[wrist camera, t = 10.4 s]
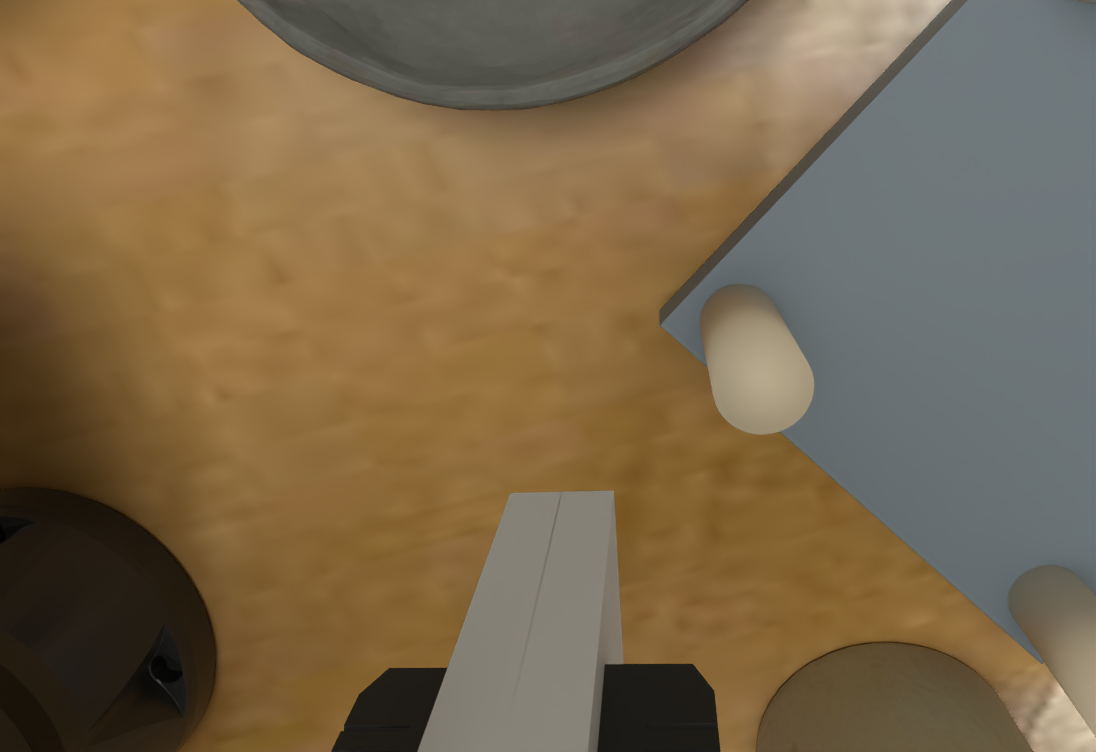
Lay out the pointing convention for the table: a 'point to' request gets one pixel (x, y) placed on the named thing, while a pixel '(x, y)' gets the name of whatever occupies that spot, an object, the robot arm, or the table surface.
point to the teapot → (888, 705)
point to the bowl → (491, 44)
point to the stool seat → (940, 315)
